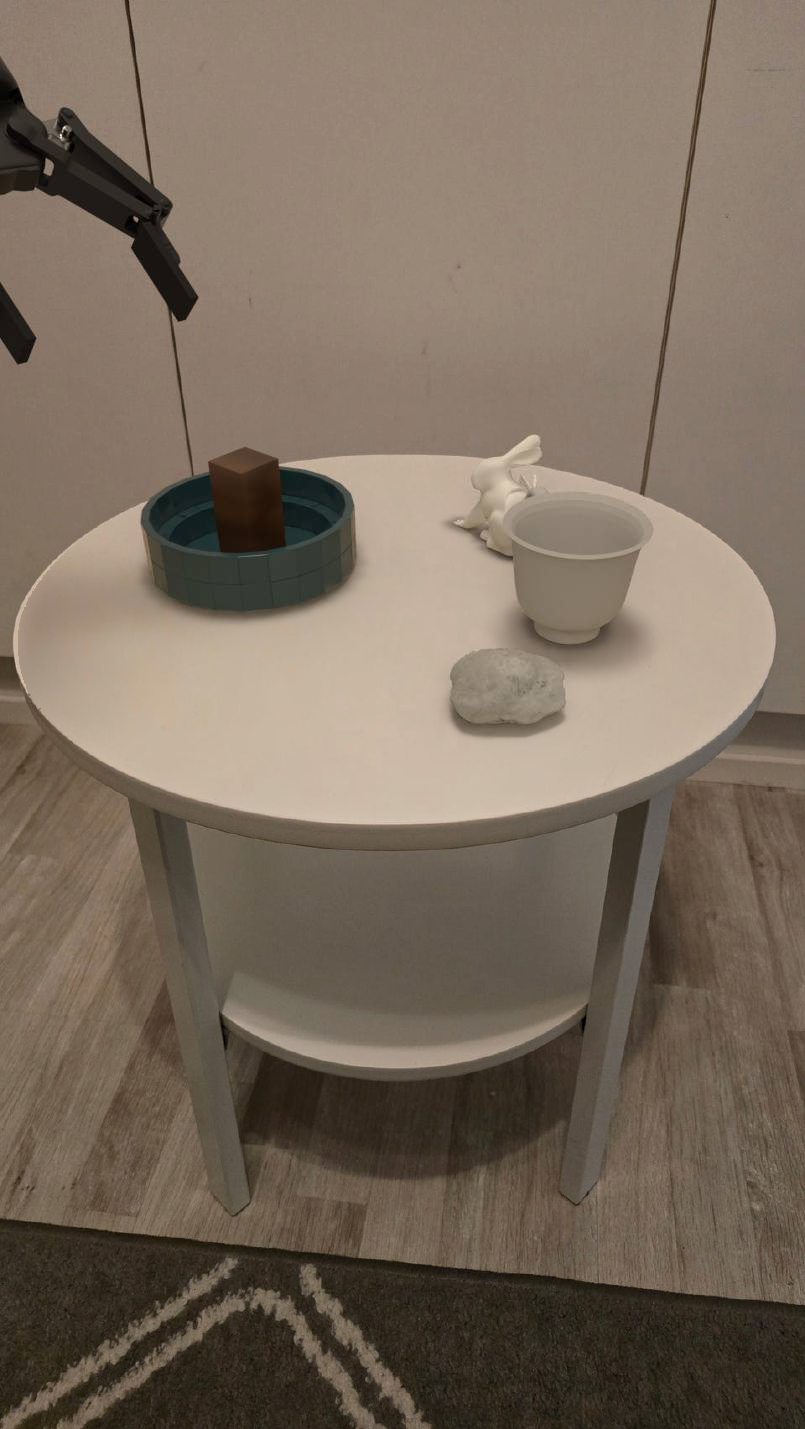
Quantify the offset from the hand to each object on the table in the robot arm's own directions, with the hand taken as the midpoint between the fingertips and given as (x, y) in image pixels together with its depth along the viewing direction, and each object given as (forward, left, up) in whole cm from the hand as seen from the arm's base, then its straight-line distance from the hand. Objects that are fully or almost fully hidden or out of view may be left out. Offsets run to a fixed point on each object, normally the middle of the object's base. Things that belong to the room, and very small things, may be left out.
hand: (112, 330), depth 69 cm
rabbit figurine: (+34, +13, -26) cm, 44 cm away
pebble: (+26, -15, -26) cm, 40 cm away
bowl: (+8, +12, -26) cm, 29 cm away
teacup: (+34, -3, -26) cm, 43 cm away
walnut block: (+8, +12, -25) cm, 29 cm away
